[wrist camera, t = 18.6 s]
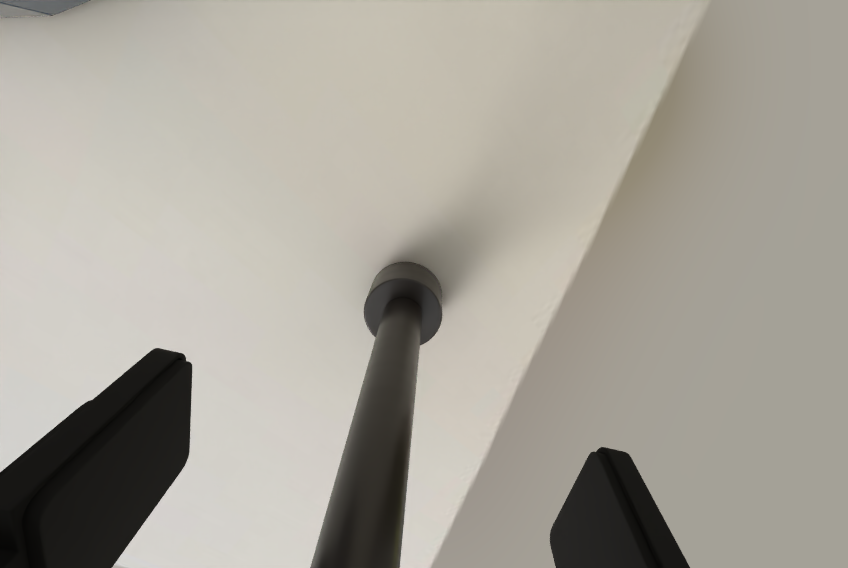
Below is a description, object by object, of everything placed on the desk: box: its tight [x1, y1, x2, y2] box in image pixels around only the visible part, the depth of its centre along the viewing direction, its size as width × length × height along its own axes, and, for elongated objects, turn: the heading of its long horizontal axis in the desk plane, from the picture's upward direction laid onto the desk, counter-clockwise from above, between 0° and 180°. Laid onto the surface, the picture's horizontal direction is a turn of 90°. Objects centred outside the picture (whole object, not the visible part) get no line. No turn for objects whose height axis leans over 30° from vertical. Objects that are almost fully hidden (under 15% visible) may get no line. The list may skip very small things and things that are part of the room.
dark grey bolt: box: [310, 262, 442, 568], centre depth 13 cm, size 3×3×14 cm
